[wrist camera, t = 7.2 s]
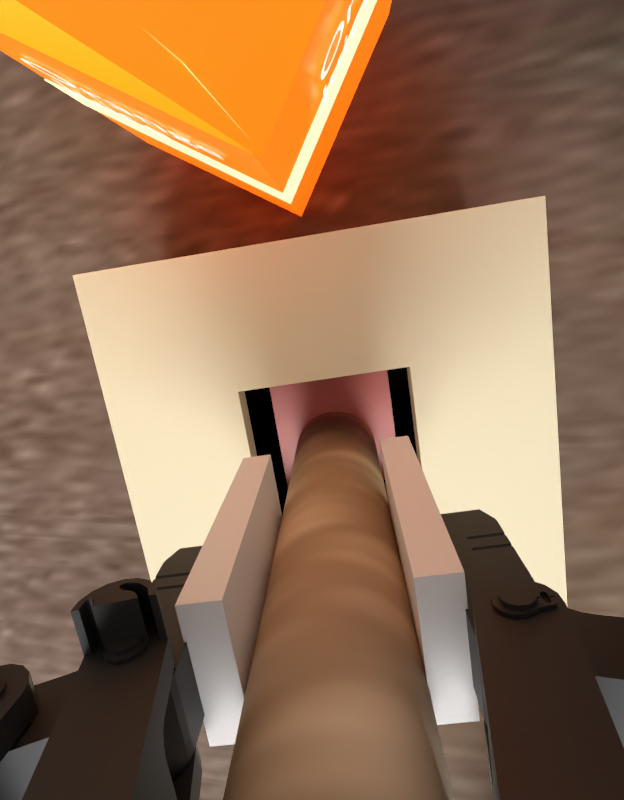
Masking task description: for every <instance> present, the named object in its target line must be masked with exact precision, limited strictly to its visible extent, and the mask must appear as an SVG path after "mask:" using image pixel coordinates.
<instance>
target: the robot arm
mask: <svg viewBox="0 0 624 800" xmlns="http://www.w3.org/2000/svg"><path fill="white" fill-rule="evenodd" d="M380 446H381V453H382V461H383V468H384V475H385V483H386V490H387V498H388V505H389V510H390V514H391V519H392V523H393V528H394V533H395V537H396V542H397V546H398V551H399V556H400V560H401V565H402V570H403V574H404V579H405V583H406V588H407V593H408V597H409V602H410V606H411V611H412V616H413V620H414V625H415V629H416V634H417V639H418V643H419V648H420V652H421V657H422V662H423V666H424V671H425V675H426V680H427V684H428V687H429V690H430V695H431V699H432V704H433V709H434V713H435V718H436V722H437V725H442V724H452V723H463V722H473V721H480V719H479V709H478V702H479V705H480V708H481V711H482V715H483V718H484V726H485V736H486V746H487V756H488V766H489V775H490V784H492V791H493V799H494V800H624V618H623V617H613V616H602V615H594V614H588V613H582V612H578V611H575V610H572V609H569V608H567V606H566V603H565V602H564V601H563V599H562V598H561V597H560V595H559V594H558V593H557V592H556V591H554V590H552V589H551V588H549V587H547V586H546V585H544V584H541V583H537V582H535V581H534V579H533V578H532V576H531V574H530V573H529V571H528V570H527V568H526V566H525V565H524V563H523V562H522V560H521V558H520V557H519V555H518V554H517V552H516V550H515V549H514V547H513V546H512V545H511V542H510V541H509V539H508V537H507V536H506V535H505V533H504V531H503V529H502V528H501V526H500V525H499V523H498V521H497V520H496V519H495V518H493V517H492V516H490V515H488V514H486V513H485V512H483V511H481V510H480V509H478V510H470V511H462V512H454V513H446V514H440V512H439V509H438V507H437V504H436V502H435V500H434V497H433V495H432V492H431V490H430V488H429V485H428V483H427V480H426V478H425V475H424V473H423V471H422V468H421V466H420V463H419V461H418V459H417V456H416V454H415V451H414V449H413V447H412V444H411V442H410V439H409V437H408V436H402V437H394V438H387V439H380ZM281 520H282V513H281V507H280V502H279V497H278V491H277V486H276V481H275V475H274V470H273V465H272V459H271V454H270V455H263V456H255V457H248V458H243V460H242V462H241V464H240V466H239V469H238V471H237V473H236V475H235V477H234V479H233V481H232V484H231V486H230V488H229V490H228V492H227V494H226V497H225V499H224V501H223V503H222V505H221V507H220V509H219V512H218V514H217V516H216V518H215V520H214V522H213V524H212V527H211V529H210V531H209V533H208V535H207V537H206V539H205V542H204V544H203V546H195V547H187V548H180V549H179V550H177V551H176V552H175V553H174V554H173V555H172V556H170V557H169V558H168V559H167V560H166V561H164V563H163V564H162V566H161V568H160V570H159V571H158V573H157V575H156V579H154V580H153V582H151V581H150V580H146V579H140V578H134V579H124V580H120V581H117V582H113V583H110V584H107V585H105V586H103V587H101V588H99V589H96V590H94V591H92V592H91V593H89V594H88V595H87V596H85V597H84V598H83V599H81V600H80V601H79V602H78V603H77V604H76V605H75V607H74V608H73V609H72V610H71V614H72V617H73V621H74V624H75V627H76V631H77V634H78V637H79V641H80V644H81V647H82V650H83V654H84V659H83V661H82V663H81V665H80V668H79V670H78V671H76V672H73V673H71V674H68V675H65V676H62V677H59V678H56V679H53V680H50V681H47V682H44V683H41V684H38V685H35V686H34V684H33V681H32V678H31V675H30V672H29V671H28V670H27V669H26V668H25V667H24V666H22V665H15V664H8V665H2V666H0V800H199V796H200V786H201V776H202V767H201V760H200V755H199V752H198V748H197V740H198V737H199V733H200V730H201V726H202V723H203V721H204V725H205V729H206V733H207V737H208V741H209V745H210V746H220V745H231V744H235V740H236V735H237V731H238V726H239V721H240V716H241V712H242V707H243V702H244V697H245V692H246V688H247V683H248V678H249V673H250V669H251V664H252V659H253V654H254V649H255V645H256V640H257V635H258V630H259V626H260V621H261V616H262V611H263V606H264V602H265V597H266V592H267V587H268V583H269V578H270V573H271V568H272V563H273V559H274V554H275V549H276V544H277V540H278V535H279V530H280V525H281Z"/></svg>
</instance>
